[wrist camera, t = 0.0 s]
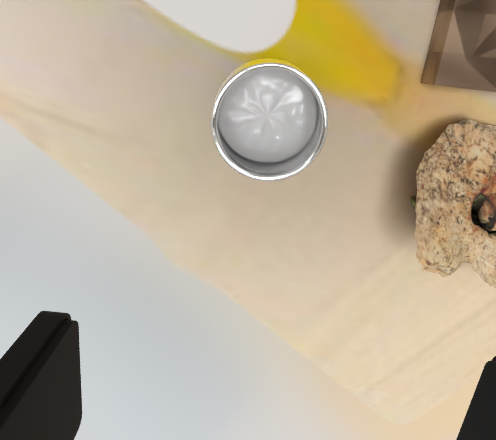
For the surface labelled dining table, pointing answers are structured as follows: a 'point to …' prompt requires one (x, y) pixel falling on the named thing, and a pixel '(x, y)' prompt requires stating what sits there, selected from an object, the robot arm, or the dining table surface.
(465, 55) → the can holder
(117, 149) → the dining table surface
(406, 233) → the dining table surface
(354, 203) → the dining table surface
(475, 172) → the holed granite stone
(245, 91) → the beer glass
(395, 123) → the dining table surface
